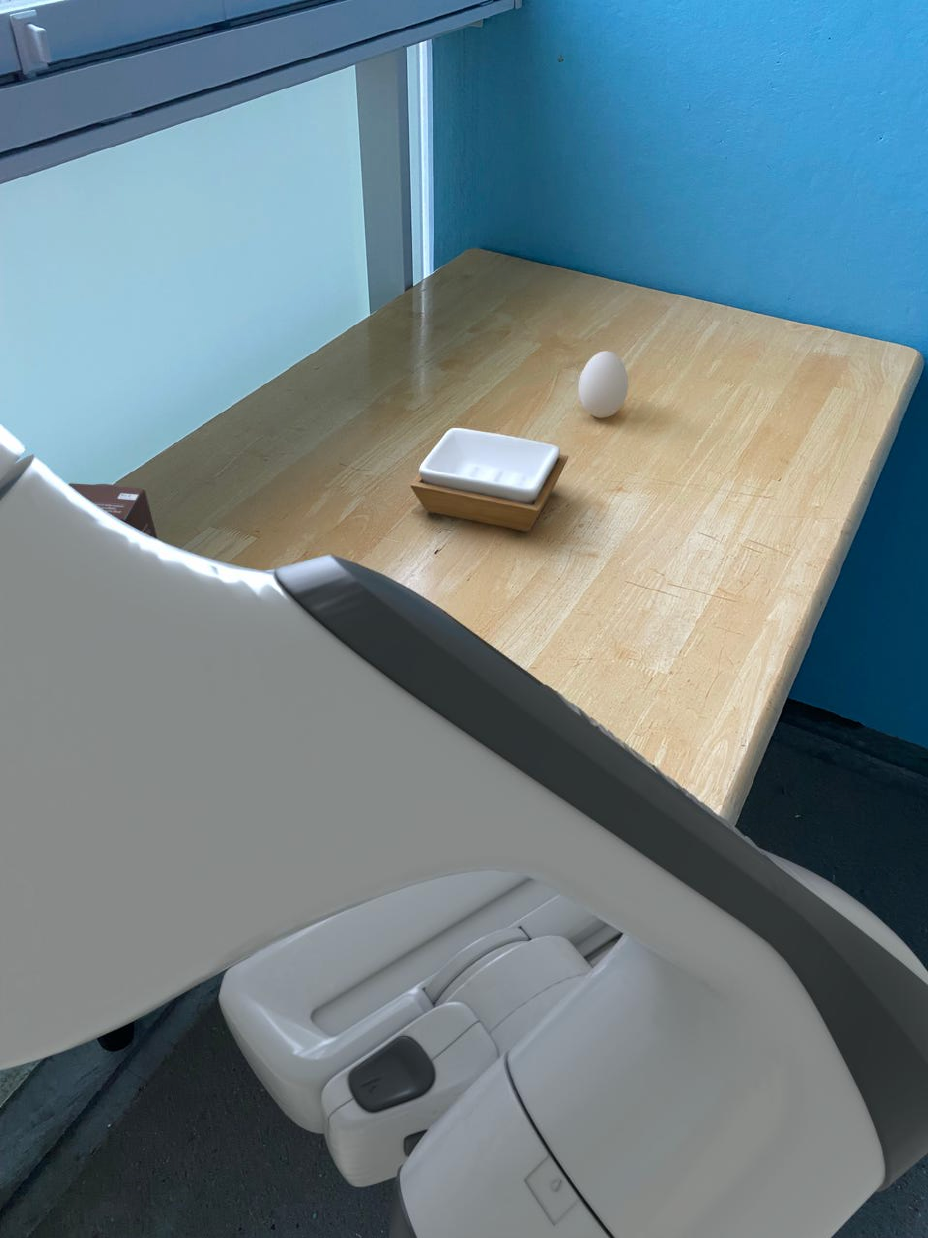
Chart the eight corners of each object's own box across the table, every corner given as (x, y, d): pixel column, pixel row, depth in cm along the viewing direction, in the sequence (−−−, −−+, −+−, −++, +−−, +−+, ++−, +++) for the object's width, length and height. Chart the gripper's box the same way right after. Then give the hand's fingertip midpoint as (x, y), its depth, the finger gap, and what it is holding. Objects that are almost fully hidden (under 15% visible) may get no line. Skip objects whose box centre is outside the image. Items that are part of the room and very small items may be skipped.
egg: (580, 401, 105) (586, 339, 100) (627, 407, 104) (635, 344, 99) (572, 423, 101) (577, 360, 96) (620, 430, 100) (628, 366, 95)
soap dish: (566, 488, 91) (570, 442, 88) (537, 544, 85) (540, 497, 81) (448, 464, 95) (447, 420, 91) (410, 516, 88) (408, 470, 84)
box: (87, 636, 75) (43, 512, 67) (109, 600, 79) (70, 478, 71) (160, 641, 75) (124, 517, 67) (178, 605, 78) (147, 483, 70)
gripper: (701, 878, 43) (519, 698, 51) (298, 1154, 34) (161, 882, 43) (681, 950, 47) (515, 772, 55) (317, 1212, 38) (188, 953, 47)
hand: (358, 821), depth 49 cm, fingers open, 8 cm apart
